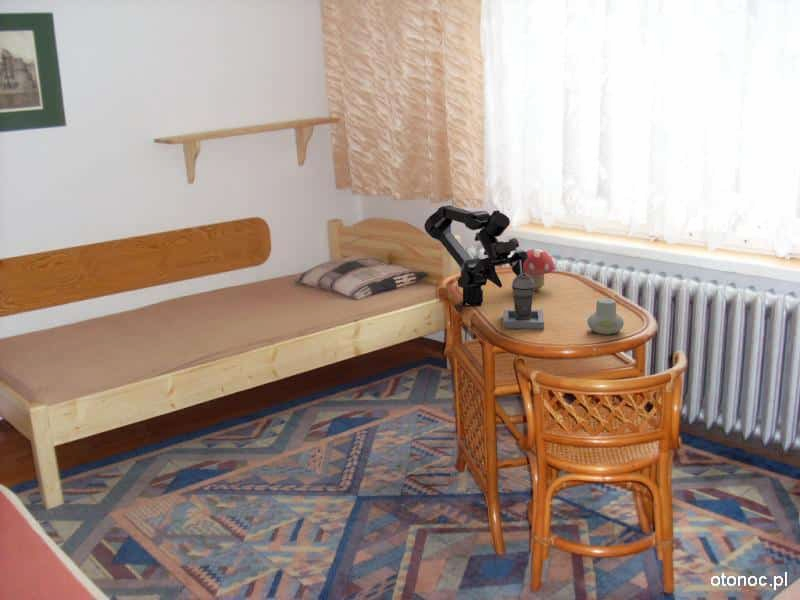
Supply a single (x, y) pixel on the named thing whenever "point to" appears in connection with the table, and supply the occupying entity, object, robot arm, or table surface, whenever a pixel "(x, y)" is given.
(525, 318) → the beverage cup
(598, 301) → the air freshener
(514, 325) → the tray
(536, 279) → the decorative mushroom
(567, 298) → the table surface
